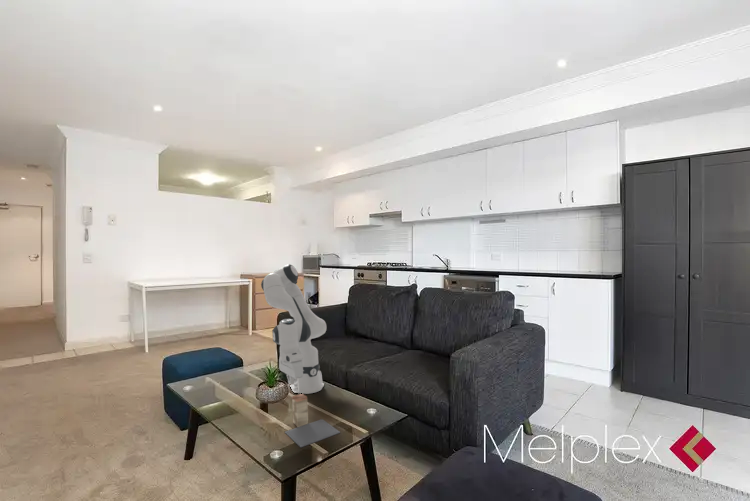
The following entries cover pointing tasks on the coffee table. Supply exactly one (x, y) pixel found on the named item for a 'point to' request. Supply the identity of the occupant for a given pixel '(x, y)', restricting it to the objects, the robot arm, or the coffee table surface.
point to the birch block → (300, 410)
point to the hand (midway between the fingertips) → (291, 383)
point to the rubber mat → (311, 433)
